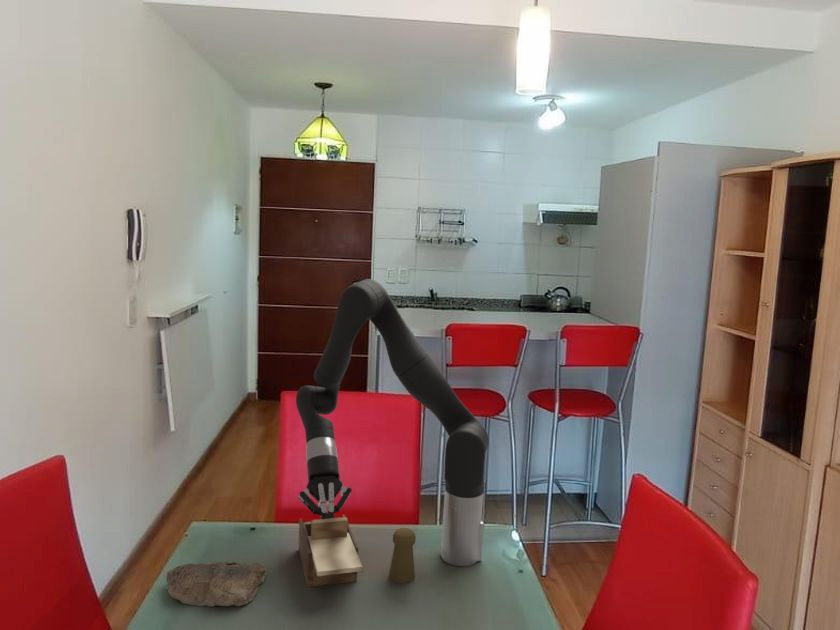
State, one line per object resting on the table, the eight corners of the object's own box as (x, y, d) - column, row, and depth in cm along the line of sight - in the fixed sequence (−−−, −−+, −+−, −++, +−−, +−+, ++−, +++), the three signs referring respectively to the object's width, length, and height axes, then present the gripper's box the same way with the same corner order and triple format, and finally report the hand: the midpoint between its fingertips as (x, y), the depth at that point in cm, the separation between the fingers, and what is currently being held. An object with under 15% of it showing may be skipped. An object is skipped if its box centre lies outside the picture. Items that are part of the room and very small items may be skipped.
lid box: (343, 545, 159) (344, 514, 158) (356, 581, 144) (358, 547, 143) (298, 549, 155) (299, 518, 154) (307, 587, 140) (308, 553, 139)
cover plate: (348, 536, 149) (349, 516, 148) (362, 571, 135) (363, 548, 134) (307, 540, 146) (308, 520, 145) (317, 576, 132) (318, 553, 132)
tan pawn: (383, 575, 147) (385, 530, 145) (401, 565, 151) (404, 521, 149) (402, 586, 143) (404, 540, 141) (420, 576, 147) (423, 531, 145)
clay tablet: (151, 606, 131) (248, 613, 130) (151, 583, 131) (248, 590, 130) (181, 570, 145) (268, 576, 144) (181, 549, 145) (268, 555, 144)
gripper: (296, 455, 152) (301, 528, 143) (351, 451, 156) (359, 522, 147) (293, 467, 158) (298, 538, 149) (346, 464, 162) (354, 533, 153)
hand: (328, 530), depth 148 cm, fingers closed
